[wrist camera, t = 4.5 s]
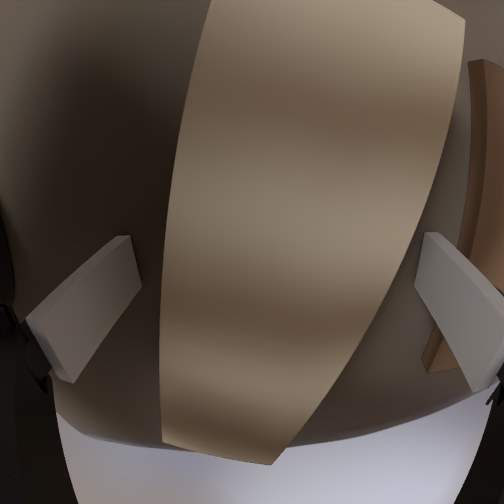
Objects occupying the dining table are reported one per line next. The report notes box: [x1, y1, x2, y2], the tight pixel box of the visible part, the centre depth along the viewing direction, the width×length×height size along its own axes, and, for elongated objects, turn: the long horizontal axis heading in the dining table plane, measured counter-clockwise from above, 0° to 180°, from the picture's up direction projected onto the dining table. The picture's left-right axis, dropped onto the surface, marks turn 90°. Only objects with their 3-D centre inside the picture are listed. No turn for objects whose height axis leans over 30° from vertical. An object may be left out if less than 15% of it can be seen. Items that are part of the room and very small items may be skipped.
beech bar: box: [159, 0, 465, 465], centre depth 10 cm, size 20×6×5 cm, turn 167°
